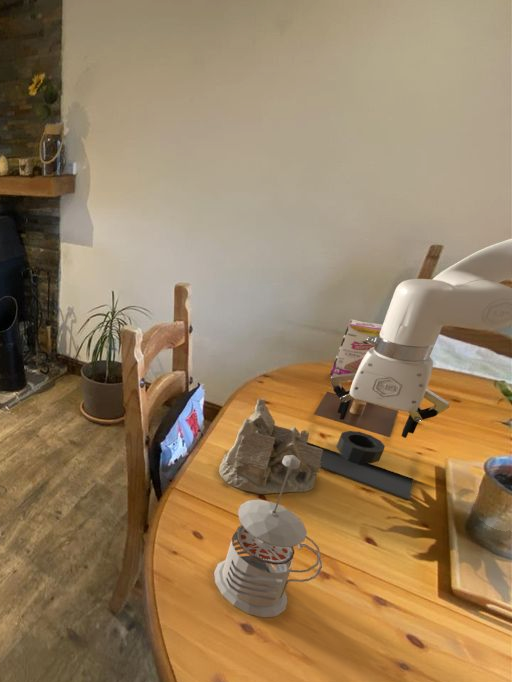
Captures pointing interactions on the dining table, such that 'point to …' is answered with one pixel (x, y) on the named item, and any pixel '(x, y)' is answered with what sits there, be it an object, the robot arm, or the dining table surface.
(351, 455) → the tape roll
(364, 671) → the dining table surface
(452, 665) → the dining table surface
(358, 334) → the candy bar box
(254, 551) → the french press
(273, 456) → the ceramic cottage
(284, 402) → the dining table surface
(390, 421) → the tape stand
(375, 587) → the dining table surface
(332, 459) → the felt mat
